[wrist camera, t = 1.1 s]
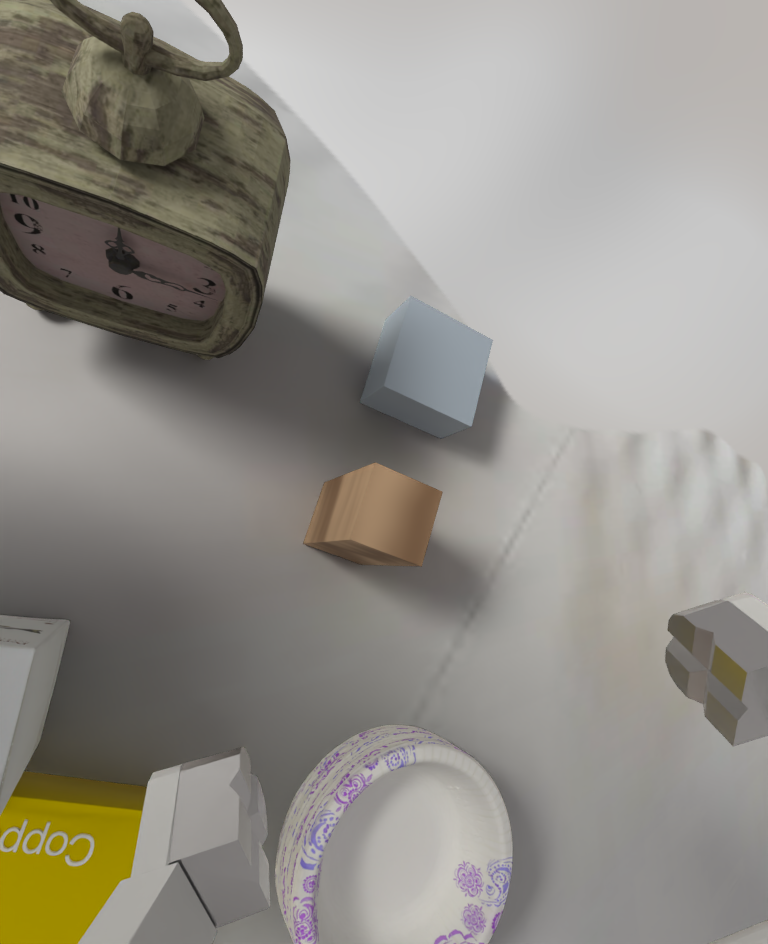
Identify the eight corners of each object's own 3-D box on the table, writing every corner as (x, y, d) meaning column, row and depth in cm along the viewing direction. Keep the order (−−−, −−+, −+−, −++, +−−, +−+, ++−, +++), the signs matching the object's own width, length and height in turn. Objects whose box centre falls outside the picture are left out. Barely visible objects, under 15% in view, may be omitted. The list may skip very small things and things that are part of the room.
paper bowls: (426, 947, 41) (489, 1030, 34) (230, 932, 35) (255, 1026, 28) (474, 733, 45) (538, 766, 38) (305, 691, 40) (342, 720, 33)
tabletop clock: (-2, 317, 35) (-246, -116, 12) (38, 197, 37) (-108, -363, 14) (225, 382, 40) (341, 162, 18) (250, 274, 42) (382, -45, 20)
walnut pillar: (303, 543, 41) (350, 539, 32) (324, 482, 42) (375, 462, 34) (361, 564, 43) (421, 566, 34) (379, 505, 44) (442, 491, 35)
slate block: (358, 403, 45) (383, 386, 40) (384, 320, 47) (410, 295, 43) (439, 439, 48) (471, 426, 43) (460, 359, 50) (492, 340, 45)
